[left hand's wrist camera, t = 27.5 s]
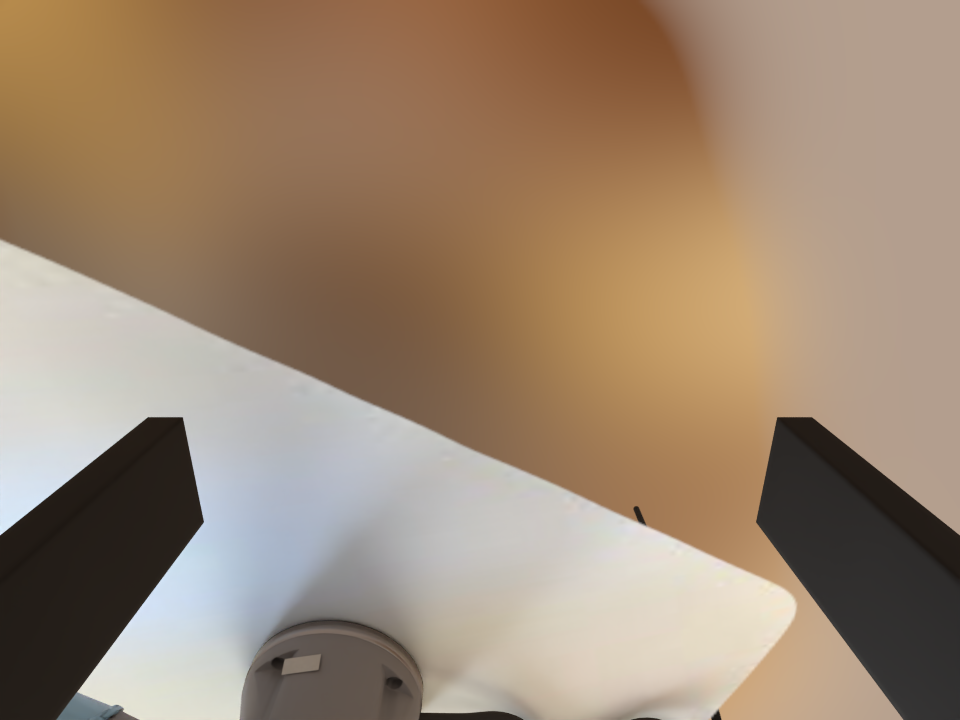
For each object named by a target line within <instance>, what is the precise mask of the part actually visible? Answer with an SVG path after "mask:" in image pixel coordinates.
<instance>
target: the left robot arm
mask: <svg viewBox="0 0 960 720" xmlns="http://www.w3.org/2000/svg"><path fill="white" fill-rule="evenodd" d="M633 510H634V512H635V515H636V517H637V520H638V522H639V523H640V524H642V525H644V526H647V525H646V523H645V521H644V518H643V516H642V513H641V511H640V509H639V507H638V506H635V507H634V508H633ZM203 523H204V520H203V515H202V511H201V506H200V501H199V496H198V491H197V486H196V481H195V476H194V471H193V466H192V461H191V456H190V451H189V446H188V441H187V436H186V431H185V426H184V421H183V417H148V418H147V419H145V420H144V421H143V422H142V423H140V424H139V425H138V426H137V427H135V428H134V429H133V430H132V431H130V432H129V433H128V434H127V435H125V436H124V437H123V438H122V439H120V440H119V441H118V442H117V443H115V444H114V445H113V446H112V447H110V448H109V449H108V450H107V451H105V452H104V453H103V454H102V455H100V456H99V457H98V458H97V459H95V460H94V461H93V462H92V463H90V464H89V465H88V466H87V467H85V468H84V469H83V470H82V471H80V472H79V473H78V474H77V475H75V476H74V477H73V478H72V479H70V480H69V481H68V482H67V483H65V484H64V485H63V486H62V487H60V488H59V489H58V490H56V491H55V492H54V493H53V494H51V495H50V496H49V497H48V498H46V499H45V500H44V501H43V502H41V503H40V504H39V505H38V506H36V507H35V508H34V509H33V510H31V511H30V512H29V513H28V514H26V515H25V516H24V517H23V518H21V519H20V520H19V521H18V522H16V523H15V524H14V525H13V526H11V527H10V528H9V529H8V530H6V531H5V532H4V533H3V534H1V535H0V720H138V719H136V718H134V717H132V716H130V715H128V714H126V713H124V712H122V711H123V710H124V708H122V707H121V706H119V705H114V706H109V705H107V704H105V703H102V702H100V701H97V700H95V699H92V698H90V697H87V696H85V695H82V694H80V693H77V691H78V690H79V689H80V687H81V686H82V685H83V683H84V682H85V681H86V679H87V678H88V677H89V675H90V674H91V673H92V671H93V670H94V669H95V667H96V666H97V665H98V663H99V662H100V661H101V659H102V658H103V657H104V655H105V654H106V653H107V651H108V650H109V649H110V647H111V646H112V645H113V643H114V642H115V641H116V639H117V638H118V637H119V635H120V634H121V633H122V631H123V630H124V628H125V627H126V626H127V624H128V623H129V622H130V620H131V619H132V618H133V616H134V615H135V614H136V612H137V611H138V610H139V608H140V607H141V606H142V604H143V603H144V602H145V600H146V599H147V598H148V596H149V595H150V594H151V592H152V591H153V590H154V588H155V587H156V586H157V584H158V583H159V582H160V580H161V579H162V578H163V576H164V575H165V574H166V572H167V571H168V570H169V568H170V567H171V566H172V564H173V563H174V561H175V560H176V559H177V557H178V556H179V555H180V553H181V552H182V551H183V549H184V548H185V547H186V545H187V544H188V543H189V541H190V540H191V539H192V537H193V536H194V535H195V533H196V532H197V531H198V529H199V528H200V527H201V525H202V524H203ZM756 523H757V524H758V525H759V527H760V528H761V529H762V531H763V532H764V533H765V535H766V536H767V537H768V539H769V540H770V541H771V543H772V544H773V545H774V547H775V548H776V549H777V551H778V552H779V553H780V555H781V556H782V557H783V559H784V560H785V561H786V563H787V564H788V565H789V567H790V568H791V569H792V571H793V572H794V574H795V575H796V576H797V577H798V579H799V580H800V582H801V583H802V584H803V586H804V587H805V588H806V590H807V591H808V592H809V594H810V595H811V596H812V598H813V599H814V600H815V602H816V603H817V604H818V606H819V607H820V608H821V610H822V611H823V612H824V614H825V615H826V616H827V618H828V619H829V620H830V622H831V623H832V624H833V626H834V627H835V628H836V630H837V631H838V632H839V634H840V635H841V636H842V638H843V639H844V640H845V642H846V643H847V645H848V646H849V647H850V649H851V650H852V651H853V653H854V654H855V655H856V657H857V658H858V659H859V661H860V662H861V663H862V665H863V666H864V667H865V669H866V670H867V671H868V673H869V674H870V675H871V677H872V678H873V679H874V681H875V682H876V683H877V685H878V686H879V687H880V689H881V690H882V691H883V693H884V694H885V695H886V697H887V698H888V699H889V701H890V702H891V704H892V705H893V706H894V708H895V709H896V710H897V711H898V713H899V714H900V716H901V717H902V718H903V720H960V535H959V534H957V533H956V532H955V531H954V530H952V529H951V528H950V527H949V526H947V525H946V524H945V523H944V522H942V521H941V520H940V519H939V518H937V517H936V516H935V515H934V514H932V513H931V512H930V511H929V510H927V509H926V508H925V507H924V506H922V505H921V504H920V503H919V502H917V501H916V500H915V499H914V498H912V497H911V496H910V495H909V494H907V493H906V492H905V491H903V490H902V489H901V488H900V487H898V486H897V485H896V484H895V483H893V482H892V481H891V480H890V479H888V478H887V477H886V476H885V475H883V474H882V473H881V472H880V471H878V470H877V469H876V468H875V467H873V466H872V465H871V464H870V463H868V462H867V461H866V460H865V459H863V458H862V457H861V456H860V455H858V454H857V453H856V452H855V451H853V450H852V449H851V448H850V447H848V446H847V445H846V444H845V443H843V442H842V441H841V440H840V439H838V438H837V437H836V436H835V435H833V434H832V433H831V432H830V431H828V430H827V429H826V428H825V427H823V426H822V425H821V424H820V423H818V422H817V421H816V420H815V419H813V418H812V417H778V418H777V421H776V426H775V431H774V436H773V441H772V446H771V451H770V456H769V461H768V466H767V471H766V476H765V481H764V486H763V491H762V496H761V501H760V506H759V511H758V516H757V520H756ZM422 698H423V683H422V678H421V675H420V672H419V670H418V668H417V666H416V664H415V662H414V661H413V659H412V658H411V656H410V655H409V654H408V653H407V652H406V651H405V650H404V649H403V648H402V647H401V646H400V645H399V644H398V643H396V642H395V641H394V640H392V639H391V638H389V637H387V636H386V635H384V634H382V633H380V632H378V631H376V630H374V629H371V628H368V627H365V626H362V625H359V624H354V623H350V622H342V621H315V622H309V623H304V624H300V625H296V626H293V627H291V628H288V629H286V630H284V631H282V632H280V633H278V634H277V635H275V636H274V637H272V638H271V639H270V640H268V641H267V642H266V643H265V644H264V645H263V646H262V647H261V649H260V650H259V651H258V653H257V654H256V656H255V658H254V660H253V662H252V664H251V667H250V669H249V671H248V673H247V676H246V679H245V683H244V687H243V691H242V697H241V709H240V720H523V719H522V718H520V717H517V716H515V715H512V714H509V713H505V712H498V711H487V712H476V713H421V707H422ZM633 720H660V719H656V718H637V719H633ZM711 720H722V719H721V715H720V712H719V709H718V710H717V711H716V712H715V713H714V714H713V716H712V717H711Z"/></svg>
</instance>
